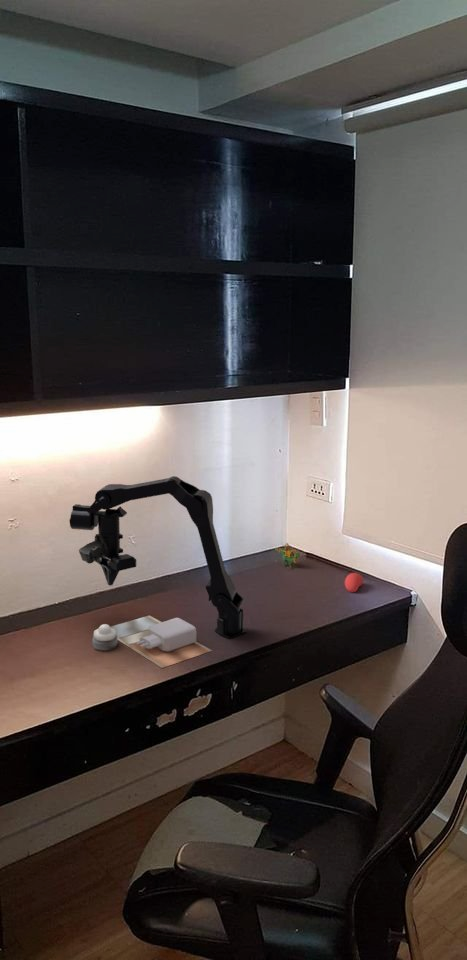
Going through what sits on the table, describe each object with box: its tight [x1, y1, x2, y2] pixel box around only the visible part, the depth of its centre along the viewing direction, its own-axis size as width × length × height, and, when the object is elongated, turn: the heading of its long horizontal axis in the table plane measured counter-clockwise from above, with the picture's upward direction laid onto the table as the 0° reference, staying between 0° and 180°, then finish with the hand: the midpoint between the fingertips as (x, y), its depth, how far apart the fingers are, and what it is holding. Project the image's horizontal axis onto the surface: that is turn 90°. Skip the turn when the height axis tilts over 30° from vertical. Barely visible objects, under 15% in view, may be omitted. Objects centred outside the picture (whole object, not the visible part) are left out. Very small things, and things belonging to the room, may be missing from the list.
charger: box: [137, 617, 197, 652], centre depth 195 cm, size 5×9×15 cm
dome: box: [93, 623, 116, 641], centre depth 195 cm, size 6×6×3 cm
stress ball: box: [344, 572, 364, 593], centre depth 238 cm, size 5×9×6 cm, turn 143°
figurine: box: [274, 543, 301, 570], centre depth 258 cm, size 3×12×8 cm, turn 42°
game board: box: [92, 614, 213, 669], centre depth 197 cm, size 23×29×2 cm
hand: (110, 584), depth 208 cm, fingers closed
